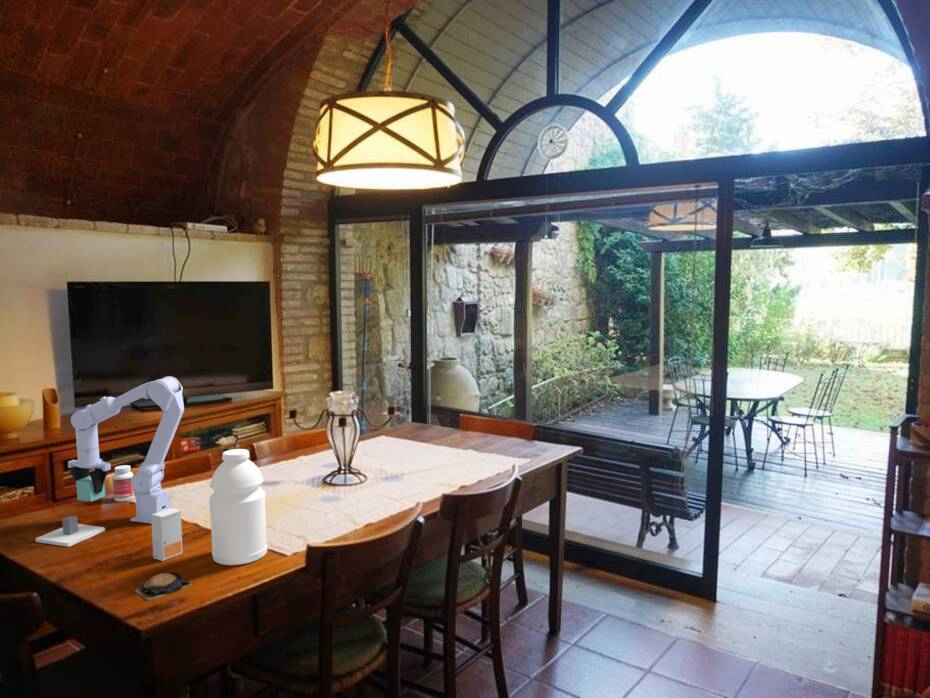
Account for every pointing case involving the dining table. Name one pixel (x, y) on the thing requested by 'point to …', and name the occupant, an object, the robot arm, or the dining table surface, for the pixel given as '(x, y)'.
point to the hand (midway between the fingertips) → (91, 491)
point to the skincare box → (166, 534)
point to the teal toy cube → (87, 490)
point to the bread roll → (162, 585)
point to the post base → (70, 538)
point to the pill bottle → (123, 484)
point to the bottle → (237, 510)
